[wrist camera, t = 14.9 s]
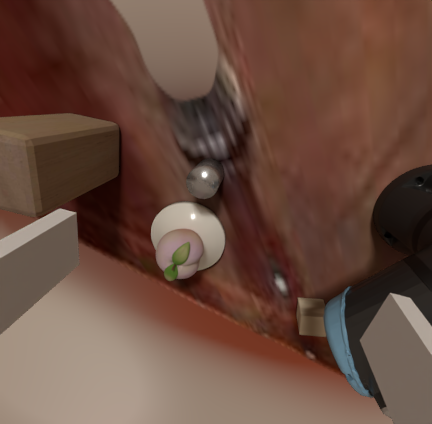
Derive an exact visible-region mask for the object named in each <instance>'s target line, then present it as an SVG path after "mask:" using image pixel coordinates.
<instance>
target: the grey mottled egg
mask: <svg viewBox="0 0 432 424" xmlns="http://www.w3.org/2000/svg"><path fill="white" fill-rule="evenodd" d="M223 177H224V168H223V166H222V164H221V163H220V162H219V161H218V160H216V159H213V158H207V159H204V160H203V161H201V162H200V163H199V164H198V165H197V166H196V167H195V168H194V169H193V170H192V171H191V172H190V173H189V175H188V177H187V180H186V184H187V188H188V190H189V192H190V193H191V194H192V195H193V196H195V197H197V198H200V199H207V198H210V197H212V196H213V195H214V194H215V193H216V191H217V189H218V187H219V185H220V183H221V181H222V180H223Z"/></svg>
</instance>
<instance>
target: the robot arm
mask: <svg viewBox="0 0 432 424" xmlns="http://www.w3.org/2000/svg"><path fill="white" fill-rule="evenodd" d="M373 218H374V224H375V227H376V230H377V232H378V233H379V234H380V236H381V237H382V238H383V239H384V240H385V241H386V242H387V243H388V244H389V245H390V246H391V247H393V248H394V249H396V250H398V251H400V252H402V253H404V254H407V255H409V257H407V258H405V259H402V260H401V261H399V262H397V263H395V264H393V265H391V266H390V267H388V268H386V269H384V270H382V271H380V272H379V273H377V274H375V275H373V276H371V277H369V278H367V279H365V280H363V281H362V282H360V283H358V284H356V285H354V286H350V287H347V288H346V289H345V290H344V292H342V293H341V294H339V295H337V296H336V297H334V298H332V299H331V300H329V302H328V303H327V304H326V306H325V309H324V315H323V321H324V328H325V332H326V336H327V340H328V343H329V346H330V348H331V351H332V353H333V356H334V358H335V360H336V362H337V364H338V366H339V368H340V370H341V371H342V373H344V374H345V375H346V378H347V381H348V382H349V384H350V385H351V386H352V388H353V389H354V390H355V391H357V392H358V393H359V394H360V395H363V396H367V397H370V398H373V397H374V398H375V400H376V401H377V403H378V405H379V407H380V409H381V411H382V412H383V414H385V415H386V416H388V417H390V418H391V419H392V421H393V423H394V424H432V165H427V166H422V167H419V168H415V169H413V170H410V171H408V172H406V173H404V174H402V175H401V176H399V177H398V178H396V179H395V180H394V181H392V182H391V183H390V184H389V185H388V186H387V187H386V188H385V189H384V190H383V192H382V193H381V195H380V196H379V198H378V200H377V202H376V205H375V208H374V215H373ZM78 265H79V249H78V232H77V215H76V213H75V212H71V211H67V210H63V209H58V210H56V211H54V212H52V213H51V214H49V215H47V216H45V217H43V218H41V219H39V220H37V221H35V222H34V223H32V224H30V225H28V226H26V227H24V228H22V229H20V230H18V231H17V232H15V233H13V234H11V235H9V236H7V237H5V238H3V239H2V240H0V334H2V333H3V332H4V331H5V330H6V329H7V328H8V327H10V326H11V325H12V324H13V323H14V322H15V321H16V320H17V319H18V318H20V317H21V316H22V315H23V314H24V313H25V312H26V311H28V309H30V308H31V307H32V306H33V305H34V304H35V303H36V302H38V301H39V300H40V299H41V298H42V297H43V296H44V295H45V294H47V293H48V292H49V291H50V290H51V289H52V288H53V287H55V286H56V285H57V284H58V283H59V282H60V281H61V280H62V279H64V278H65V277H66V276H67V275H68V274H69V273H70V272H71V271H73V270H74V269H75V268H76V267H77V266H78ZM413 271H414V272H415V273H414V272H413ZM421 280H422V281H421Z"/></svg>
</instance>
